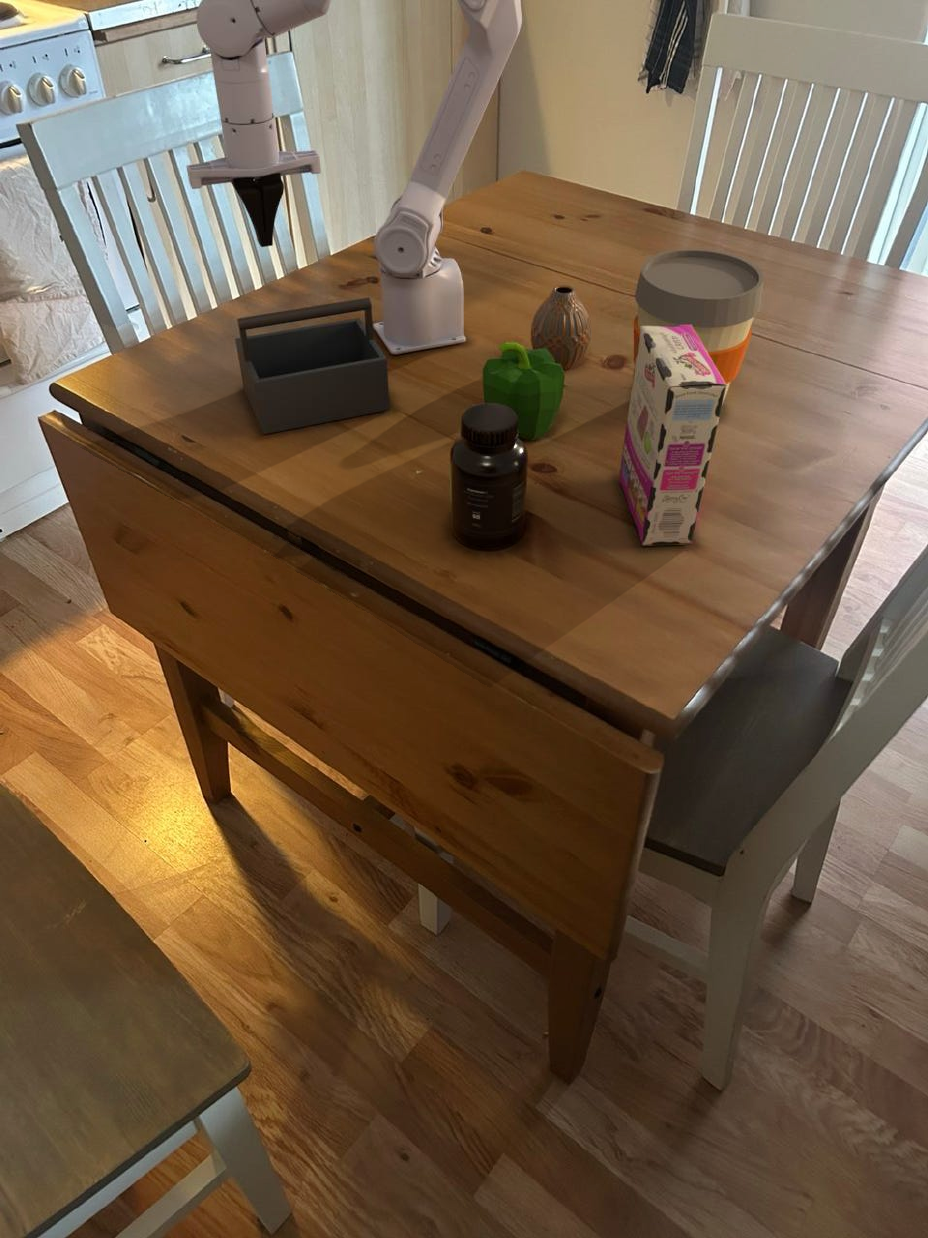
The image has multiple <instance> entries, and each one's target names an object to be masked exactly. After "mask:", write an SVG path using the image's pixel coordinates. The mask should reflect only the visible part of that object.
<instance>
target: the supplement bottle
mask: <svg viewBox="0 0 928 1238" xmlns="http://www.w3.org/2000/svg"><path fill="white" fill-rule="evenodd" d="M460 421H461V423H460V424H461V427H460V436H459V437H458V438H457V439H456V440H455V441H454V443H453V444H452V446H451V448H450V451H449V504H450V506H449V508H450V509H449V511H450V512H449V513H450V517H449V518H450V529H451V532H452V534H453V536H454V537H455V538H456V540H458V542H460V543H461V544H463V545H464V546H466V547H468V548H471V549H475V550H480V551H497V550H502V549H504V548H507V547H509V546H512V545H513V544H515V543H516V542H517V541H519V539H520V538H521V536H522V534H523V532H524V530H525V529H524V528H525V520H526V519H525V518H526V502H527V501H526V500H527V483H528V465H529V453H528V450H527V447H526V445H525V444H524V442H523V440H522V439H520V437H519V436H518V417H517V415H516V412H514V410H512V409H511V408H510V407H507V406H505V405H502V404H497V403H485V402H483V403H478V404H473V405H471V406H470V407H467V408H466V410H464V411H463V412H462V414H461V420H460Z"/></svg>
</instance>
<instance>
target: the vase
mask: <svg viewBox="0 0 928 1238" xmlns="http://www.w3.org/2000/svg"><path fill="white" fill-rule="evenodd" d="M591 335H592V325H591V319H590V316H589V313H588V311H587V309H586V308H585V306H584V305H583V303H582V301H581V300H580V299H579V297H578V295H577V293H576V290H575V288H574V287H572V286H571V285H567V284H559V285H556V286H554V287H553V289H552V290H551V292H550V294H549V296H548V297H546V299H545V300H544V301H543V302H542V303H541V304H540V305H539V307H538V308H537V310H536V311H535V314H534V315H533V319H532V321H531V325H530V343H531V348H532V350H535V349H542V348H546V349H547V350H548V351H549V353H550V354H551V355H552V356H553V358H554V360H555V363H557V364H561V366H562V369H563V370H565V369H569V368H572V367H573V366H575V365H576V364H578V363H579V362H580V361H581V360H582V359H583V358H584V356H585V355H586V353H587V351H588V348H589V345H590V341H591V337H592V336H591Z"/></svg>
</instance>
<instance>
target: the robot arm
mask: <svg viewBox="0 0 928 1238" xmlns="http://www.w3.org/2000/svg"><path fill="white" fill-rule="evenodd" d="M331 1H332V0H200V3H199V5H198V7H197V10H196V16H195V19H196V27H197V31H198V34H199V36H200V38H201V40H202V42H203V43H204V44H205V46H206V47H207V48H208V49H209V51H210V59H211V64H212V75H213V79H214V80H213V81H214V86H215V92H216V93H215V94H216V98H217V99H216V100H217V105H218V111H219V119H220V124H221V129H222V137H223V142H224V143H223V144H224V149H225V156H224V157H220V158H216V159H212V160H208V161H204V162H199V163H195V164H186V172H187V177H188V182H189V186H190V188H191V189H192V190H195V189H196V190H197V189H202V188H203V186H212V185H220V184H228V183H231V185H232V187H233V189H234V190H235V192H236V193H237V195H238V196H239V198H240V201H241V202H242V204H243V206H244V208H245V210H246V212H247V213H248V216H249V218H250V221H251V223H252V226H253V229H254V232H255V235H256V239H257V242H258V244H259V247H260V248H265V247H273V245H274V228H275V223H276V217H277V212H278V209H279V206H280V203H281V200H282V197H283V195H284V191H285V183H284V181H283V180H282V177H284V176H285V177H286V176H292V175H293V176H294V175H300V174H301V175H302V174H308V173H310V174H312V175H317V174H318V175H319V174H322V167H321V156H320V154H319V152H317V151H316V150H314V149H313V150H297V151H294V150H293V151H292V150H291V151H290V150H289V151H288V150H287V151H284V150H283V151H282V150H281V151H280V150H279V143H278V134H277V128H276V118H275V111H274V104H273V95H272V94H273V93H272V87H271V79H270V70H269V66H268V59H267V51H266V43H265V39H274V38H276V37H278V36H281V35H283V34H285V33H287V32H289V31H292V30H294V29H296V28H299V27H301V26H303V25H305V24H307V23H309V22H311V21H314V20H316V19H319V18H321V17H323V16H325V15H326V14H327V13H328V12H329V9H330V5H331ZM521 1H522V0H457V3H458V5H459V7H460V11H461V13H462V15H463V18H464V20H465V23H466V26H467V29H468V34H467V37H466V39H465V40H464V44H463V46H462V49H461V52H460V53H459V56H458V59H457V61H456V63H455V66H454V68H453V71H452V74H451V76H450V79H449V81H448V83H447V85H446V89H445V90H444V93H443V95H442V98H441V101H440V103H439V105H438V108H437V110H436V112H435V116H434V117H433V120H432V123H431V125H430V127H429V129H428V132H427V135H426V138H425V140H424V142H423V145H422V148H421V150H420V152H419V155H418V157H417V160H416V162H415V164H414V167H413V170H412V172H411V174H410V176H409V180H408V182H407V183H406V186H405V188H404V190H403V193H402V194H401V195H400V196H399V197H398V198H397V199H396V200H395V201H394V202H393V204H392V206H391V207H390V211H389V214H388V216H387V217H386V219H385V221H384V223H383V224H382V225H381V227H379V229H378V230H377V232H376V233H375V236H374V239H373V250H374V255H375V258H376V259H377V262H378V264H379V276H380V277H379V278H380V280H379V281H380V292H381V311H382V321H379V322H375V323H373V330H374V331H375V332H376V334H377V335H378V337H379V338H380V340H381V341H382V343H383V344H384V346H385V347H386V348H387V351H388V352H389V353H390V354H391V355H401V354H406V353H407V354H408V353H412V352H418V351H423V350H428V349H429V350H430V349H433V348H434V349H435V348H440V347H447V346H451V345H457V344H462V343H465V342H466V341H467V339H466V336H465V334H464V333H465V331H464V327H465V326H464V324H465V323H464V322H465V321H464V316H465V315H464V308H465V307H464V302H465V300H464V299H465V298H464V295H465V294H464V293H465V292H464V291H465V290H464V282H463V276H462V273H461V269H460V267H459V265H458V263H457V261H456V260H455V259H454V258H452V257H446V258H443V257H442V256H440V252H439V251H438V248H437V246H435V245H436V244H435V243H436V241H437V240H438V238H439V237H440V235H441V233H442V231H443V225H444V220H443V219H444V218H443V212H444V211H443V210H444V206H445V204H446V201H447V199H448V196H449V194H450V191H451V190H452V187H453V184H454V183H455V180H456V178H457V175H458V173H459V171H460V169H461V167H462V164H463V163H464V160H465V157H466V155H467V153H468V151H469V148H470V145H472V141H473V139H474V137H475V134H476V132H477V130H478V128H479V125H480V123H481V121H482V119H483V117H484V114H485V111H486V109H487V107H488V105H489V103H490V100H491V98H492V96H493V94H494V91H495V89H496V87H497V85H498V82H499V80H500V79H501V78H500V77H501V75H502V74H503V71H504V68H505V66H506V64H507V62H508V60H509V57H510V55H511V53H512V50H513V48H514V46H515V44H516V42H517V39H518V37H519V34H520V33H521V32H520V31H521V28H522V24H523V14H522V3H521Z"/></svg>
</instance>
